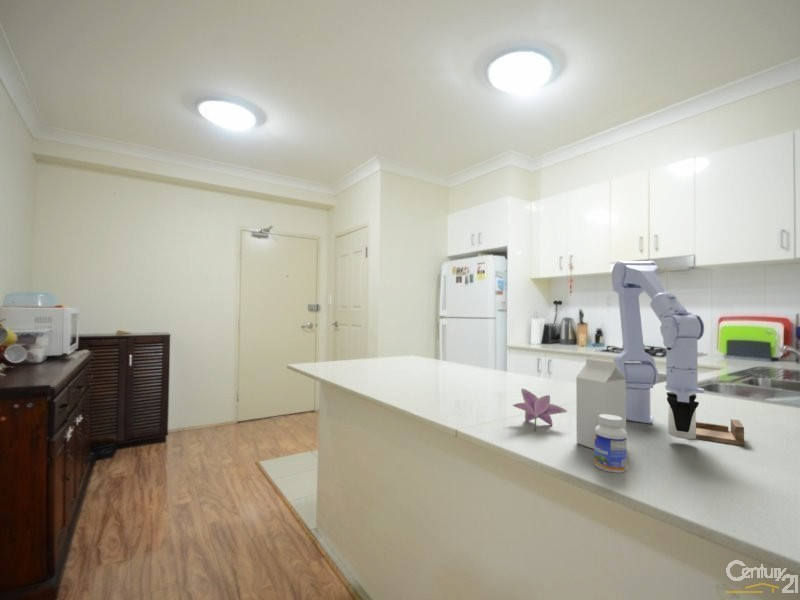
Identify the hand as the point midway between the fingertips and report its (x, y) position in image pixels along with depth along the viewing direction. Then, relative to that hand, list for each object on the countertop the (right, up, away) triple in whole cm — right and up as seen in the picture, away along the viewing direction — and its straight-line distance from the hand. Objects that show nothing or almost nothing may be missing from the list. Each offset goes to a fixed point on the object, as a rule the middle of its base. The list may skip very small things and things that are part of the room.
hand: (681, 427), depth 87 cm
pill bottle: (-23, -3, -13) cm, 27 cm away
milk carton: (-19, -4, -2) cm, 20 cm away
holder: (+11, -4, +6) cm, 13 cm away
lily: (-28, -4, +12) cm, 31 cm away
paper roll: (0, -2, 0) cm, 2 cm away
